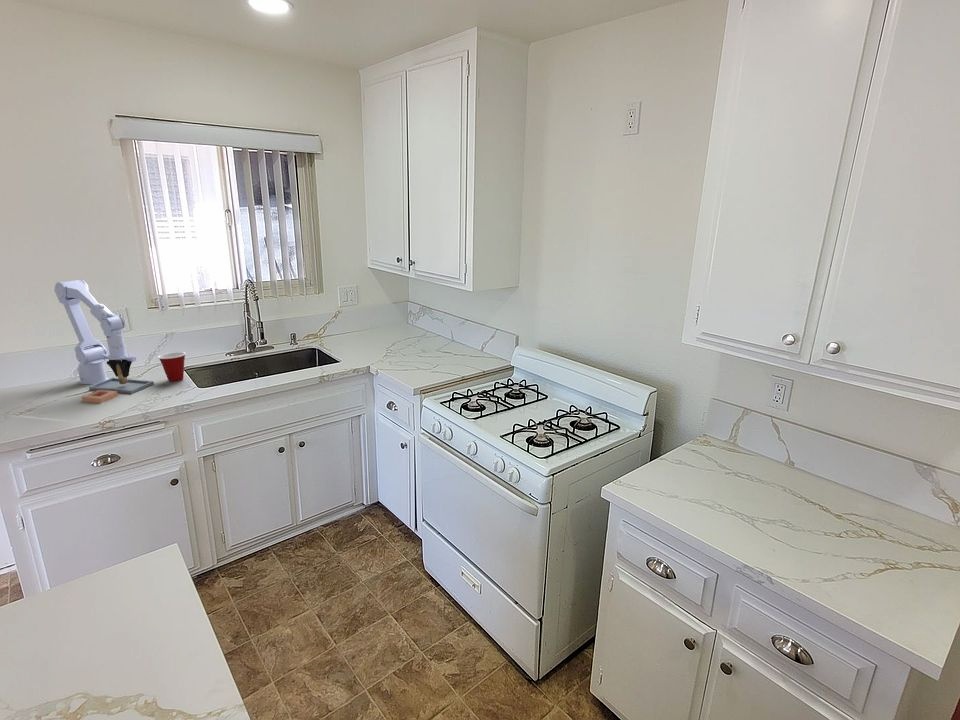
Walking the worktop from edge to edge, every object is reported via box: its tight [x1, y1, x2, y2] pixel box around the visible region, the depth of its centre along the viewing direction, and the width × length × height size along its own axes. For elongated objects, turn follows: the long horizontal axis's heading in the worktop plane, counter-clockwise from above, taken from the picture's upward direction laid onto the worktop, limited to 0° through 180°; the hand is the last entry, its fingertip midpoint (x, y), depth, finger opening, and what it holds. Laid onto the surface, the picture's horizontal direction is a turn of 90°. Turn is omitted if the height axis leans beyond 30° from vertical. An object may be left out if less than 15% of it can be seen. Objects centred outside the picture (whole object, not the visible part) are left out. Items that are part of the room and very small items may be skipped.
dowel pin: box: [116, 365, 128, 384], centre depth 220 cm, size 3×3×8 cm
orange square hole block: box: [81, 390, 119, 404], centre depth 209 cm, size 8×8×2 cm
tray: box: [88, 377, 155, 395], centre depth 222 cm, size 20×12×2 cm, turn 81°
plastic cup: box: [157, 351, 186, 383], centre depth 231 cm, size 11×11×12 cm
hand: (122, 376), depth 220 cm, fingers closed on dowel pin, 3 cm apart
